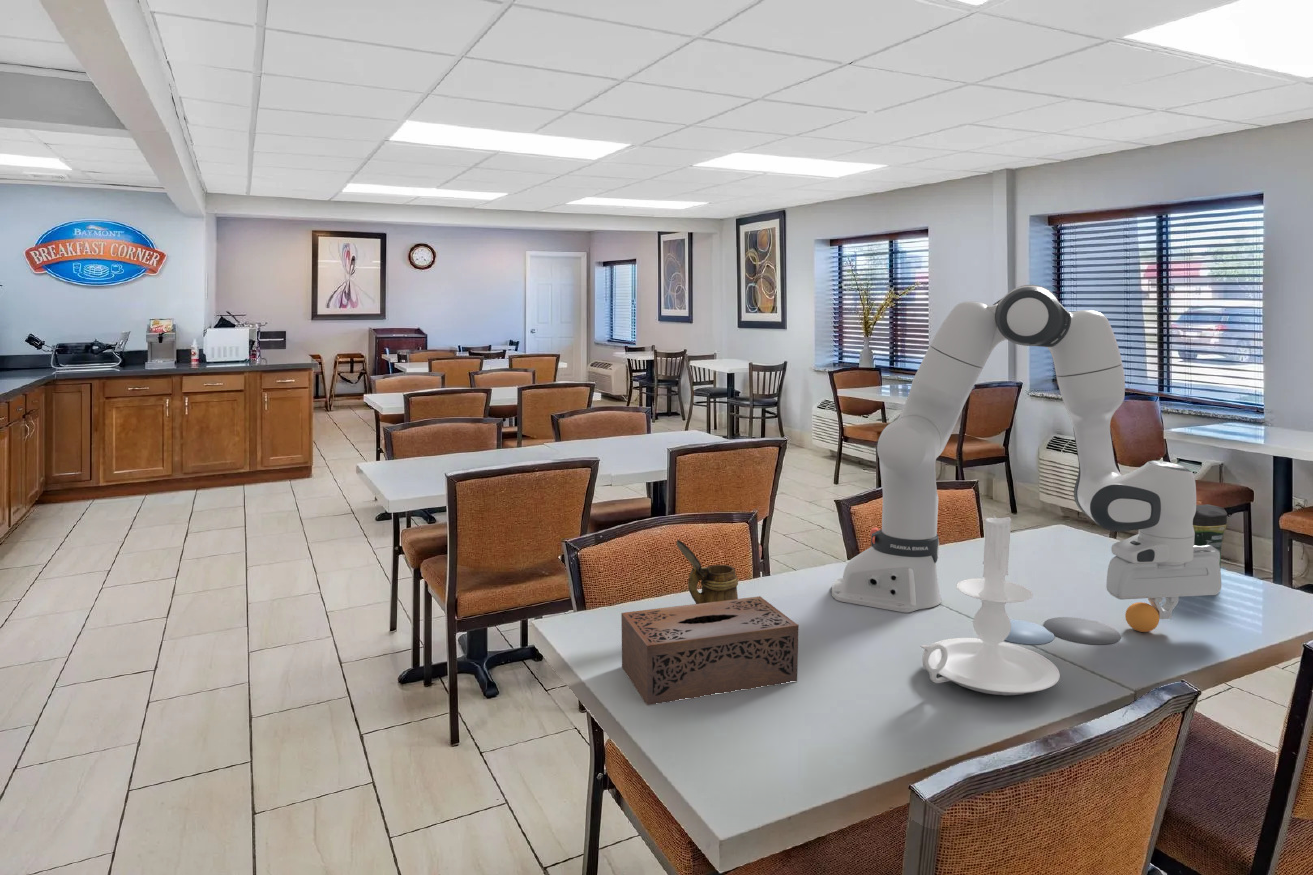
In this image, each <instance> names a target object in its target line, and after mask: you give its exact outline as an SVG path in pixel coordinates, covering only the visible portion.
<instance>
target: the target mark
mask: <svg viewBox="0 0 1313 875" xmlns="http://www.w3.org/2000/svg"><path fill="white" fill-rule="evenodd" d="M1042 626H1043V627H1045V628H1047V629H1048V630H1050V631H1051V632H1052V633H1053V634H1054V637H1057V638H1060V639H1062V640H1065V641H1068V642H1073V643H1077V642H1079V643H1078V644H1083V643H1084V645H1093V646H1095V645H1097V646H1104V645H1105V646H1106V645H1112V644H1116V643H1118V642H1120V641H1121V638H1122V637H1121V636H1122V635H1121V634H1120V632H1119V631H1118V630H1116V629H1115V628H1113V627H1112V626H1110V625H1108V624H1105V623H1101V622H1098V621H1094V620H1090V619H1085V618H1081V617H1080V618H1079V617H1069V616H1067V617H1066V616H1062V617H1061V616H1060V617H1051V618H1049V619H1047V620H1044V622H1043V624H1042Z"/></svg>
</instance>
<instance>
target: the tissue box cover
mask: <svg viewBox="0 0 1313 875" xmlns="http://www.w3.org/2000/svg"><path fill="white" fill-rule="evenodd" d="M620 617H621V668H622V670H623V671H624V673H625V674H626V675H627V677H628V678H629V680H630V682H631V683H632V685H633V686H634V687H635V690H636V691H637V692H638V694H639V696H640V697H641V698H642V700H643V701H644V703H645V704H646V706H652V705H657V704H656V703H660V704H663V703H662V702H666V703H671V702H670V701H672V702H676V701H675V700H679V699H685V698H691V699H695V698H694V697H698V698H701V697H700V696H704V695H710V696H712V695H711V694H715V693H723V694H725V693H724V692H729V693H732V692H731V691H735V690H741V689H748V690H752V689H751V688H754V689H757V688H756V687H761V686H767V685H773V686H776V685H775V684H780V685H782V684H781V683H786V682H790V681H797V682H798V664H799V663H798V662H799V661H798V660H799V659H798V657H799V656H798V655H799V624H797V623H796V622H795V621H793V620H792V619H791V618H790V617H788V616H787V615H785V614H784V613H783V612H782V611H780V610H779V609H778V608H777V607H775V606H774V605H773V604H771V603H769V602H768V601H767V600H766V599H765V598H763V597H762V596H752V597H751V596H750V597H743V598H738V599H733V600H725V601H717V602H708V603H700V604H696V603H692V604H684V605H676V606H668V607H667V606H666V607H659V608H651V609H643V610H636V611H626V612H621V614H620ZM786 684H787V683H786ZM767 687H768V686H767ZM761 688H762V687H761ZM735 692H736V691H735ZM704 697H705V696H704ZM685 700H686V699H685ZM679 701H680V700H679Z"/></svg>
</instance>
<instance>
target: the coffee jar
mask: <svg viewBox="0 0 1313 875" xmlns="http://www.w3.org/2000/svg"><path fill="white" fill-rule="evenodd" d="M1227 524H1228V513H1227V511H1226V510H1225V508H1224V507H1221V506H1217V505H1213V504H1209V503H1208V504H1196V513H1195V516H1194V518H1193V528H1194V532H1195V538H1194V546H1205V545H1210V546H1213V547H1214V548H1216V549H1217V550H1218V551H1219V553H1220V563H1219V565H1220V571H1222V570H1221V568H1222V567H1221V562H1222V559H1221V558H1222V546H1223V545H1222V544H1223V537H1224V534H1225V531H1226V529H1227ZM1212 551H1214V550H1212Z"/></svg>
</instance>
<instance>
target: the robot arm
mask: <svg viewBox="0 0 1313 875" xmlns="http://www.w3.org/2000/svg"><path fill="white" fill-rule="evenodd" d="M1007 340H1008V342H1011V343H1013V344H1016V345H1019V346H1024V347H1039V348H1040V347H1043V348H1047V349H1048V351H1049V352H1050V355H1051V357H1052V360H1053V366H1054V370H1055V375H1056V381H1057V385H1058V389H1059V393H1060V396H1061V399H1062V402H1063V403H1064V406H1065V409H1066V412H1067V414H1068V417H1069V419H1070V422H1071V425H1072V429H1073V435H1074V442H1075V447H1076V454H1077V462H1078V474H1077V478H1076V481H1075V485H1074V489H1073V499H1074V503H1075V504H1076V506H1077V508H1078V509H1079V510H1080V511H1081V512H1082V513H1083V514H1085V515H1086V516H1087V517H1089V518H1090V519H1091V520H1092V521H1094V523H1096V524H1097V525H1098V526H1100V527H1101V528H1103V529H1104V530H1108V531H1110V532H1128V531H1129V532H1131V531H1138V533H1137V534H1135V535H1132V536H1131V537H1129V538H1128V537H1127V538H1126V539H1122V540H1120V541H1118V542H1117V541H1116V542H1115V543H1113V544H1112V545H1111V547H1110V548H1111V550H1110V551H1111V554H1112V555H1114V556H1113V557H1112V558H1111V559H1110V561H1109V563H1108V568H1107V571H1106V572H1107V574H1106V583H1105V584H1106V585H1105V586H1106V591H1107V592H1108V593H1109V595H1110V596H1112V597H1113V598H1116V599H1118V600H1137V599H1138V600H1139V599H1142V600H1143V599H1147V600H1148V602H1149V605H1151V606H1153V607H1154V608H1155V609H1156V610H1157V612H1158V614H1159V620H1171V619H1172V613H1173V612H1172V611H1173V610H1174V609H1175V607H1176V606H1177V605H1178V603H1179V601H1180V600H1179V598H1180V597H1197V596H1199V597H1200V596H1216V595H1218V594H1219V593H1220V592H1221V590H1222V572H1221V571H1222V570H1221V571H1220V565H1219V563H1220V553H1219V551H1218V550H1217V549H1216V548H1214V547H1213V546H1210V545H1205V546H1194V538H1195V532H1194V528H1193V518H1194V516H1195V513H1196V505H1197V487H1196V486H1197V485H1196V479H1195V475H1194V473H1193V472H1192V471H1191V470H1190V469H1188V468H1187V467H1185V466H1183V465H1181V464H1178V463H1174V462H1169V461H1163V460H1151V461H1150V460H1149V461H1147V462H1146V463H1145V464H1144V465H1141V466H1140V467H1138V468H1136V469H1135V470H1132V471H1130V472H1128V473H1126V474H1121V472H1120V471H1119V469H1118V467H1117V466H1116V462H1115V455H1114V448H1113V442H1112V441H1113V440H1112V436H1111V421H1112V418H1113V416H1114V414H1115V412H1116V411H1117V410H1118V409H1119V408H1120V407H1121V406H1122V404H1123V402H1124V400H1125V398H1126V397H1125V395H1126V394H1125V392H1126V382H1125V381H1126V380H1125V378H1126V377H1125V371H1124V365H1123V360H1122V356H1121V352H1120V348H1119V345H1118V342H1117V338H1116V336H1115V333H1114V330H1113V328H1112V326H1111V323H1110V321H1109V319H1108V318H1107V317H1106V316H1105V314H1103V313H1102V312H1099V311H1096V310H1090V309H1084V310H1083V309H1082V310H1077V311H1069V310H1067V309H1066V307H1064V306H1063V304H1062V303H1060V301H1059V300H1058V298H1057V296H1056V294H1055V293H1053V292H1052V291H1051V290H1049V289H1048V288H1046V287H1044V286H1041V285H1038V284H1023V285H1020V286H1017V287H1015V288H1013V289H1012V290H1010V291H1009V292H1007V293H1006V294H1005V295H1004V296H1003V297H1002V298H1000V299H999V300H997V301H996V302H994V303H993V304H986V303H983V302H980V301H973V300H967V301H962V302H959V303H958V304H956V305H955V306H954V307H953V308H952V309H951V311H950V312H949V313H948V315H947V316H946V317H945V319H944V321H943V322H942V323H941V325H940V326H939V328H938V330H937V332H936V333H935V335H934V336H933V339H932V340H931V342H930V345H929V347H928V349H927V351H926V352H925V354H924V357H923V359H922V361H921V363H920V365H919V367H918V368H917V370H916V373H915V375H914V377H913V379H912V382H911V386H910V388H909V389H910V390H909V392H908V396H907V398H906V401H905V403H904V406H903V408H902V411H901V413H900V414H899V416H898V417H897V419H896V420H894V421H892V422H891V423H889V424H888V425H886V426H885V427H884V429H883V430H882V431H881V433H880V435H879V437H878V441H877V444H876V451H877V456H878V458H879V460H878V461H879V471H880V480H881V488H882V510H881V511H882V513H881V529H879V528H878V527H877V526H876V527H872V528H871V529H870V534H869V535H870V537H871V540H870V547H868V548H867V549H865V550H864V551H862V552H860V553H859V554H857V555H856V556H854V557H853V558H851V559H850V560H849V561H848V562H847V563H846V565H845V568H844V571H843V573H842V574H843V575H842V577H841V578H839V579H837V580H835V581H834V582H833V584H832V587H831V595H832V597H833V598H834V599H835V601H837V602H842V603H847V604H852V605H853V604H854V605H855V604H856V605H861V606H865V607H872V608H878V609H884V610H887V611H896V612H900V613H912V612H915V611H917V610H923V609H929V608H933V607H936V606H938V605H940V604H941V603H942V596H941V592H940V587H939V581H938V580H939V579H938V572H937V570H938V569H937V562H938V559H939V555H940V540H939V534H938V533H937V532H938V517H939V516H938V513H939V495H938V489H937V478H936V477H937V476H936V474H937V473H936V460H937V459H938V458H939V456H941V454H942V453H943V452H944V450H945V448H946V446H947V443H948V442H949V439H950V437H951V435H952V433H953V431H954V428H955V427H956V425H957V422H958V421H959V417H960V416H961V413H962V410H963V408H964V406H965V404H966V402H967V400H968V398H969V396H970V394H971V392H972V390H973V389H974V386H975V384H976V382H977V381H978V379H979V377H980V374H981V372H982V371H983V369H984V367H985V366H986V363H987V362H988V359H989V357H990V355H991V354H992V352H993V351H994V349H995V348H996V347H997V346H998V345H999V344H1000V343H1002V342H1004V341H1007ZM1212 550H1214V551H1212ZM1163 598H1164V599H1165V601H1164V604H1163V605H1162V606H1161V604H1160V603H1163Z"/></svg>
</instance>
